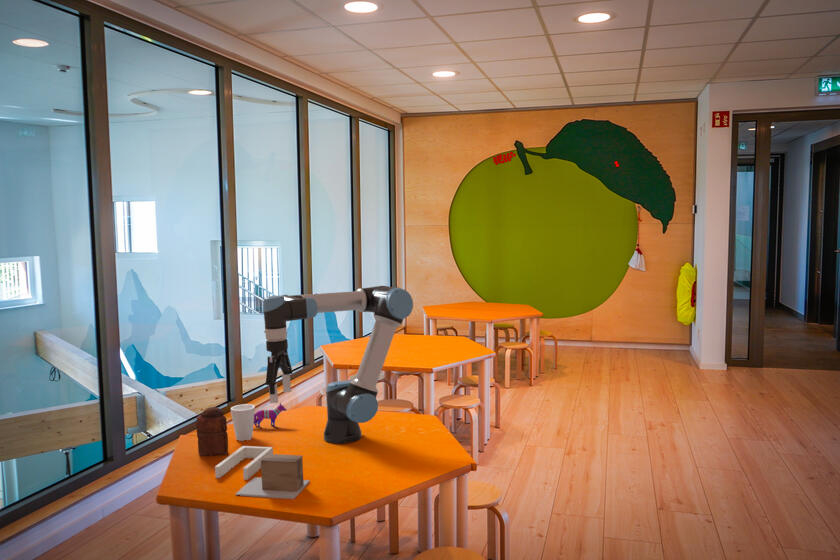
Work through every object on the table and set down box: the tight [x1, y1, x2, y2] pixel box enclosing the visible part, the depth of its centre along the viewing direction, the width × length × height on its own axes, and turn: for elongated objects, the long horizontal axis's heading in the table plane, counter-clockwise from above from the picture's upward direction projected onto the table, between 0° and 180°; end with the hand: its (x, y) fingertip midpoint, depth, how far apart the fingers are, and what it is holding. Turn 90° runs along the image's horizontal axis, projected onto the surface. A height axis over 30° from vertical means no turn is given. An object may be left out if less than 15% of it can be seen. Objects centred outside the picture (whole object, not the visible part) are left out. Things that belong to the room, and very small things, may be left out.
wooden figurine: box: [195, 406, 229, 456], centre depth 260 cm, size 12×6×18 cm, turn 96°
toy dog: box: [253, 402, 287, 430], centre depth 291 cm, size 4×18×10 cm, turn 99°
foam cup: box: [230, 403, 256, 442], centre depth 277 cm, size 10×9×13 cm
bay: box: [214, 445, 274, 481], centre depth 245 cm, size 12×22×4 cm, turn 169°
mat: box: [235, 476, 311, 500], centre depth 225 cm, size 20×14×1 cm
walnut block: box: [260, 453, 304, 492], centre depth 224 cm, size 6×12×10 cm, turn 79°
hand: (280, 397), depth 245 cm, fingers open, 13 cm apart
